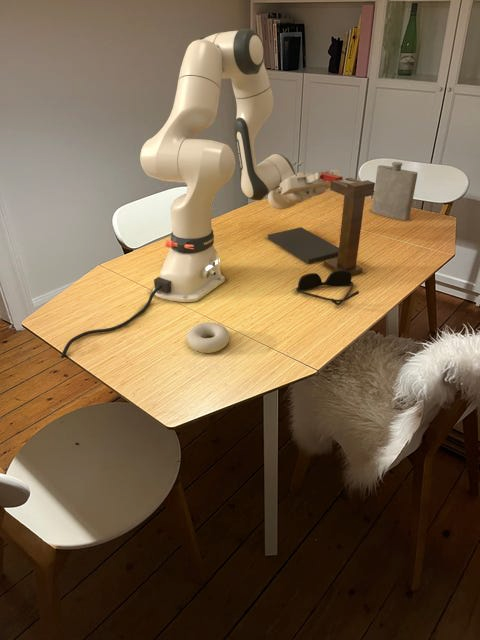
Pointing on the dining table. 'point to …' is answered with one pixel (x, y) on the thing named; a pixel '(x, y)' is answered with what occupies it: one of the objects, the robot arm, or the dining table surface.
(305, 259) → the cutting board
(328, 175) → the knife
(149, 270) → the dining table surface
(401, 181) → the hip flask
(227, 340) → the donut
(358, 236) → the wooden post stand
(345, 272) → the sunglasses
